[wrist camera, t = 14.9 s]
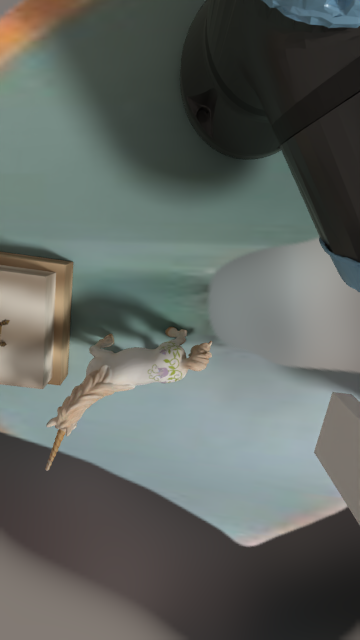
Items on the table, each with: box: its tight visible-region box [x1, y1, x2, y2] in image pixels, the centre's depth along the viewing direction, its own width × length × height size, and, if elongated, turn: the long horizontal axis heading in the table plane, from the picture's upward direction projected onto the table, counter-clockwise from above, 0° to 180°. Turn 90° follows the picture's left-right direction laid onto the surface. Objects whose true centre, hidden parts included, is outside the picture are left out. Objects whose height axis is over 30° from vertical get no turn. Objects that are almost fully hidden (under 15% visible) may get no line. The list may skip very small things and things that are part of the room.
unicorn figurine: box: [46, 327, 212, 471], centre depth 36 cm, size 7×20×13 cm, turn 115°
